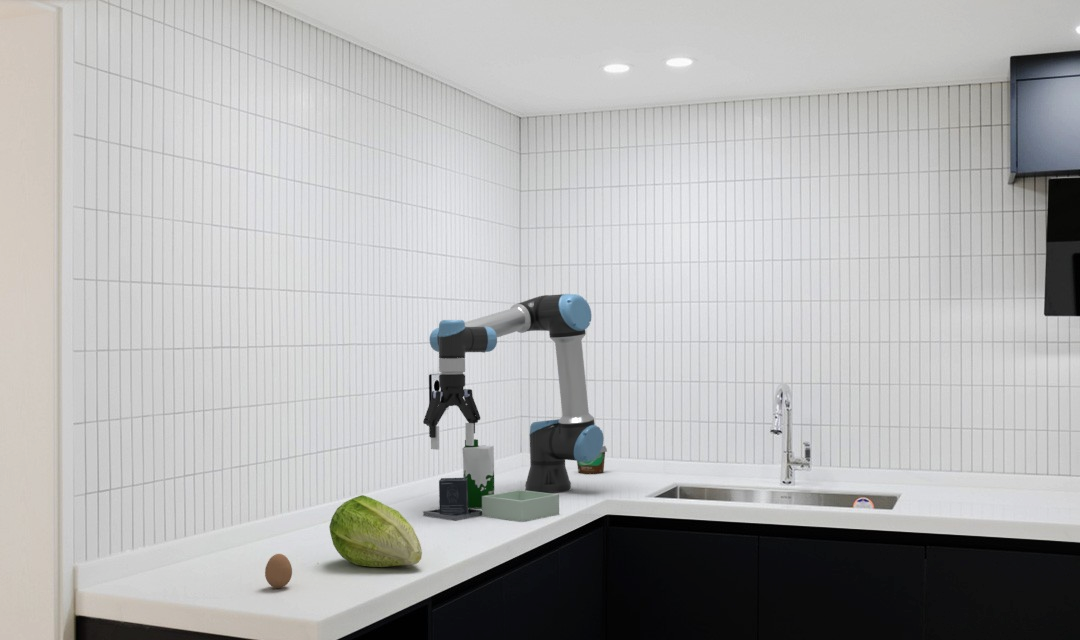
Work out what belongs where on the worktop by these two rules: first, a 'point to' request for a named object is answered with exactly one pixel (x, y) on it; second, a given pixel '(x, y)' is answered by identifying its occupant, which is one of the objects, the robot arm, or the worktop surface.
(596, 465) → the food container
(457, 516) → the collar
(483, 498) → the bin
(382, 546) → the lettuce
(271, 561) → the egg
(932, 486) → the worktop surface
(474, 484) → the milk carton
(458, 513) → the box
